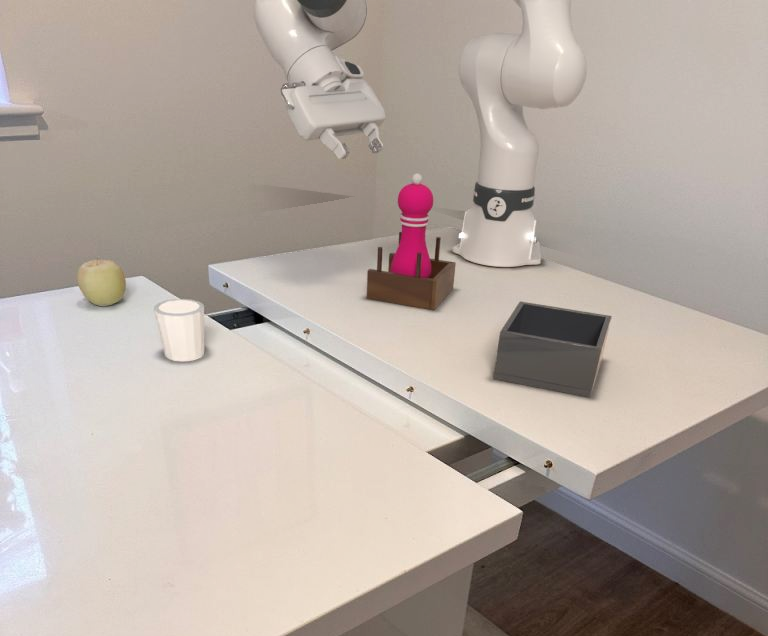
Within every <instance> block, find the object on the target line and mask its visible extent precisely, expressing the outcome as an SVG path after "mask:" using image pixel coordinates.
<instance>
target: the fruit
mask: <svg viewBox="0 0 768 636" xmlns="http://www.w3.org/2000/svg"><path fill="white" fill-rule="evenodd" d="M100 257H101V255H100V254H98V255H97V258H96V259H92V260H88V261H86V262H84V263H83V264H81V265H80V266H79V268H78V270H77V273H76V282H77V286H78V288H79V290H80V291H81V294H82V295H83V297H85V298H86V300H88V302H90V303H91V304H93V305H95V306H99V307H108V306H112V305H114V304H116V303H118V302H119V301H121V299H122V298H123V297H124V296H125V295H124V294H125V292H126V287H127V281H126V277H125V274H124V272H123V270H122V268H121V266H120V265H118V263H116V262H115V261H113V260H111V259H100Z"/></svg>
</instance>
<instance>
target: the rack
mask: <svg viewBox="0 0 768 636" xmlns="http://www.w3.org/2000/svg"><path fill="white" fill-rule="evenodd" d="M401 234H402V231H399V232H398V244H399V243H400V240H401ZM441 239H442V237H441V236H436V237H435V248H434V258H430V260H431V275H430V277H429V278H425V277H420V273H421V259H422V253H417V262H416V276H412V275H406V274H399V273H393V272H391V263H392V260H393V257H394V255H395V253H396V252H390V253H388V271H386V270H382V268H383V267H382V266H383V247H382V246H377V254H376V255H377V259H376V269H373V268H369V269H367V272H366V273H367V274H366V276H367V277H366V300H372V301H379V302H383V303H390V304H394V305H395V304H397V305H401V306H402V305H403V306H408V307H413V308H414V307H415V308H420V309H426V310H431V311H435V310H436V309H437V308H438V307H439V306H440V305H441V303H442V302H444V301H445V299H446V298H447V297H448V296H449V295H450V294H451V293H452V291H453V290H454V284H455V276H456V275H455V274H456V264H457V263H456V262H455V261H451V260H450V261H449V260H443V259H440V250H441Z"/></svg>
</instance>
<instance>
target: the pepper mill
mask: <svg viewBox="0 0 768 636" xmlns="http://www.w3.org/2000/svg"><path fill="white" fill-rule="evenodd" d="M422 182H423V177H422V175H421V174H420V173H414V174H413V175H412V177H411V183H409V184H406V185H404V186H403V187H402V188H401V189H400V191H399V193H398V195H397V206H398V208H399V210H400V211H401V213H400V214H399V224H400V225H401V232H402V234H401V240H400V243H399V242H398V246H397V249H396V250H395V252H394V253H395V255H394V257H393V260H392V263H391V272H393V273H399V274H406V275H412V276H416V262H417V253H422V259H421V273H420V277H425V278H429V277H430V275H431V260H430V259H431V256H430V254H429V251H428V246H427V241H426V230H427V226H429V224H430V222H429V219H430V215H429V213H430V211H431V210H432V208H433V206H434V195H433V191H432V190H431V189H430V188H429V187H428V186H427V185H425V184H422Z"/></svg>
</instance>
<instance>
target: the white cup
mask: <svg viewBox="0 0 768 636" xmlns="http://www.w3.org/2000/svg"><path fill="white" fill-rule="evenodd" d="M153 313H154V316H155V320H156V324H157V329H158V334H159V336H160V337H159V338H160V341H161V344H162V350H163V353H164V356H165V358H166V359H168V360H170V361H173V362H192V361H196V360H198V359H199V360H200V359H201V358H203V357H204V356H205V352H206V351H205V305H204V304H203V303H202V302H201V301H198V300H194V299H189V298H175V299H168V300H167V299H166V300H164V301H161V302H158V303H157V304H155V305H154V307H153Z"/></svg>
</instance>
